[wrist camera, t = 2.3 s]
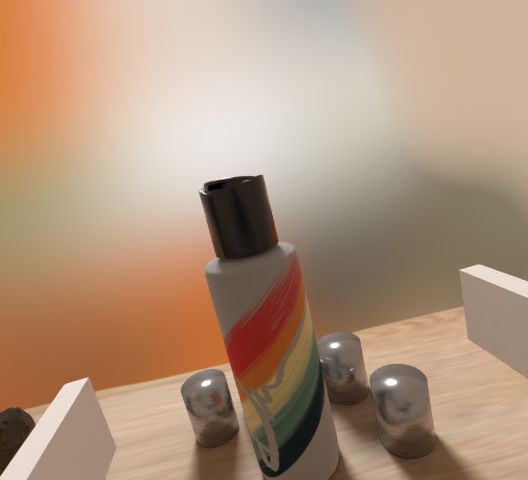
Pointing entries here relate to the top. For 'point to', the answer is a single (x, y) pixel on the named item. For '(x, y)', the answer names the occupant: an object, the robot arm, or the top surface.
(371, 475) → the top surface
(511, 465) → the top surface
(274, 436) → the lotion bottle
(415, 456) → the steel spacers
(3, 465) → the hand tool
